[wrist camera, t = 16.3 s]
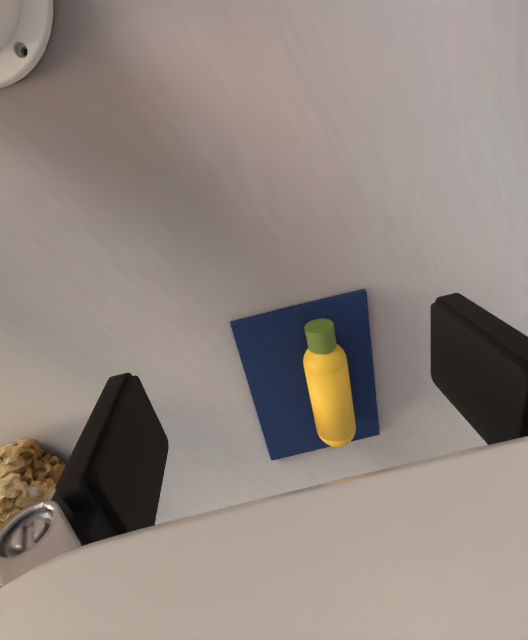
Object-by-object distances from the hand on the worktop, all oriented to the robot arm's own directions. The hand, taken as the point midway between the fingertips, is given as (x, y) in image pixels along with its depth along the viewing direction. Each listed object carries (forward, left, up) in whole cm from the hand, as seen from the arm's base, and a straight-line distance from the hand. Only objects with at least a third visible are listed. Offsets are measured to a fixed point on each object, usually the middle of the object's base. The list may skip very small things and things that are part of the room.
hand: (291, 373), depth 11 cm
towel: (+3, -19, -23) cm, 30 cm away
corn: (+3, -18, -22) cm, 29 cm away
